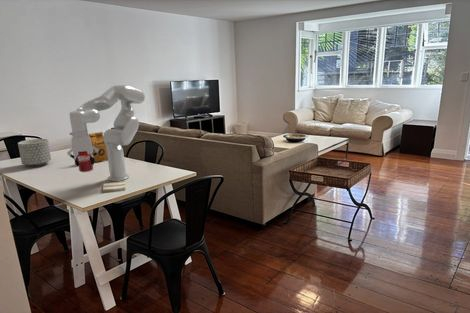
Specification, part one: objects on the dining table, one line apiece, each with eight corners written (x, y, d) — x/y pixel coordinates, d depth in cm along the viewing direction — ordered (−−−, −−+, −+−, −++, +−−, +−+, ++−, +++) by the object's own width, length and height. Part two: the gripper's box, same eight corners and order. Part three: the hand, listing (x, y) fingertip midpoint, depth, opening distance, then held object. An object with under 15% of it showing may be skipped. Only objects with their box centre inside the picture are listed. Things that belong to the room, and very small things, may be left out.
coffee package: (110, 160, 254) (107, 132, 248) (94, 163, 245) (90, 134, 240) (105, 158, 261) (101, 130, 255) (89, 161, 252) (85, 133, 247)
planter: (35, 169, 233) (30, 144, 229) (16, 167, 240) (11, 143, 235) (57, 162, 251) (53, 139, 246) (39, 161, 257) (35, 138, 253)
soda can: (90, 172, 181) (87, 151, 178) (77, 172, 181) (73, 151, 178) (95, 168, 188) (92, 147, 185) (82, 168, 188) (78, 148, 185)
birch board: (104, 185, 195) (103, 183, 195) (125, 183, 199) (124, 181, 198) (102, 192, 184) (102, 190, 184) (125, 189, 188) (125, 187, 187)
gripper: (61, 136, 173) (67, 168, 178) (97, 133, 178) (101, 164, 183) (63, 134, 180) (69, 165, 185) (97, 131, 185) (102, 161, 190)
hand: (85, 164), depth 184 cm, fingers closed on soda can, 7 cm apart
